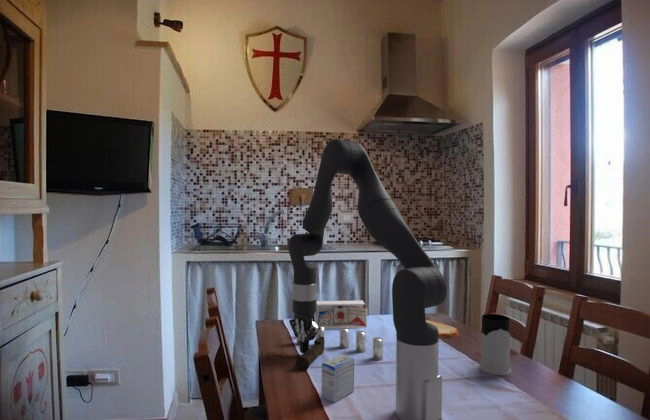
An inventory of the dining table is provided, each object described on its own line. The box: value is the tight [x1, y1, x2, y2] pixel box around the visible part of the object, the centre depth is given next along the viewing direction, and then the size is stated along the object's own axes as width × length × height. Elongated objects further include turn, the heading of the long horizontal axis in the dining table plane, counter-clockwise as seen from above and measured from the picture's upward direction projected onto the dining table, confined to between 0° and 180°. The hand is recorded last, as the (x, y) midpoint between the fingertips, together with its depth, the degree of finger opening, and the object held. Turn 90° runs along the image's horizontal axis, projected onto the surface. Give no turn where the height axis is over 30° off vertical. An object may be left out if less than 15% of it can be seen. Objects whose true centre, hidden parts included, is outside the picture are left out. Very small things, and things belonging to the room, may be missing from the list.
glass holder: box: [478, 313, 512, 376], centre depth 121 cm, size 9×14×15 cm, turn 178°
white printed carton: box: [314, 299, 368, 330], centre depth 160 cm, size 20×6×9 cm, turn 94°
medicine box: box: [321, 354, 355, 403], centre depth 102 cm, size 8×4×9 cm, turn 141°
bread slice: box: [426, 319, 460, 339], centre depth 154 cm, size 18×18×4 cm
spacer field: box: [296, 326, 384, 361], centre depth 135 cm, size 33×13×6 cm, turn 43°
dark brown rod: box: [295, 336, 325, 371], centre depth 126 cm, size 19×4×5 cm, turn 158°
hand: (304, 352), depth 129 cm, fingers closed
